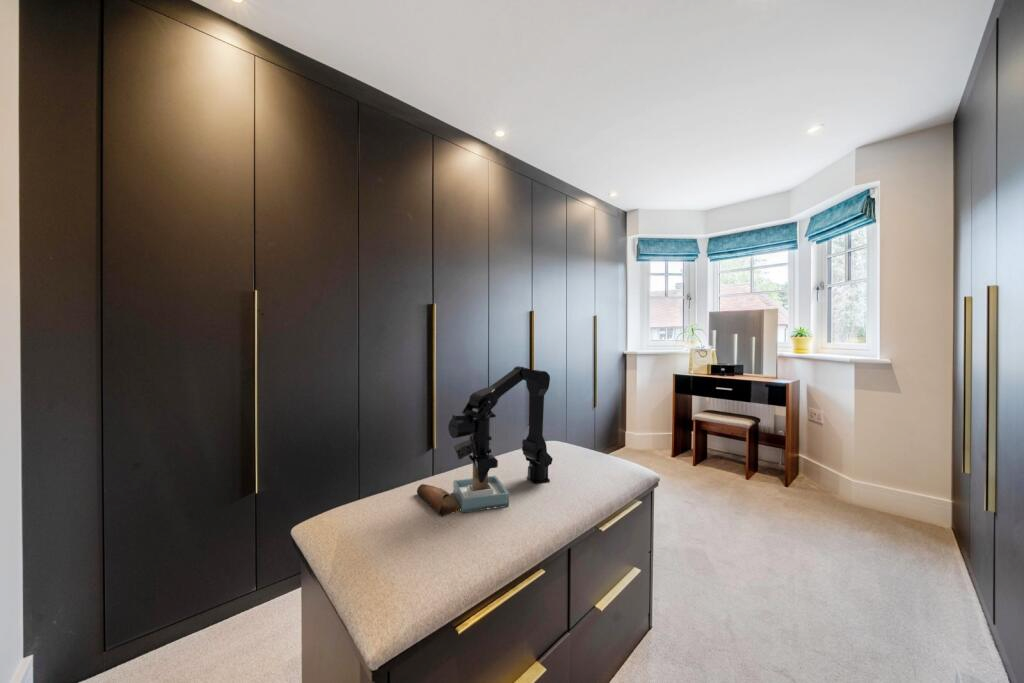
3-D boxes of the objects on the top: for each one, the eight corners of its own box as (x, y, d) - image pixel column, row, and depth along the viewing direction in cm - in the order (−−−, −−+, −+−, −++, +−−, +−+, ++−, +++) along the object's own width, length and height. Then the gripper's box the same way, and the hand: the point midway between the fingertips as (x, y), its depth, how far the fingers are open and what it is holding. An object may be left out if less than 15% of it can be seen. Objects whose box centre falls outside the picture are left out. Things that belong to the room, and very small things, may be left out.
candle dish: (495, 486, 130) (495, 475, 130) (508, 506, 116) (509, 493, 116) (453, 492, 125) (453, 480, 125) (461, 513, 112) (462, 499, 111)
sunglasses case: (465, 509, 114) (455, 493, 112) (447, 526, 110) (436, 510, 108) (440, 488, 129) (430, 473, 126) (423, 503, 125) (413, 488, 123)
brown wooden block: (485, 486, 123) (486, 461, 122) (487, 489, 120) (488, 464, 120) (472, 487, 121) (472, 463, 121) (474, 490, 119) (474, 465, 119)
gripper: (450, 426, 126) (450, 473, 127) (461, 443, 109) (461, 496, 109) (482, 424, 130) (482, 469, 130) (498, 440, 112) (498, 491, 113)
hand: (480, 480), depth 121 cm, fingers closed on brown wooden block, 2 cm apart
